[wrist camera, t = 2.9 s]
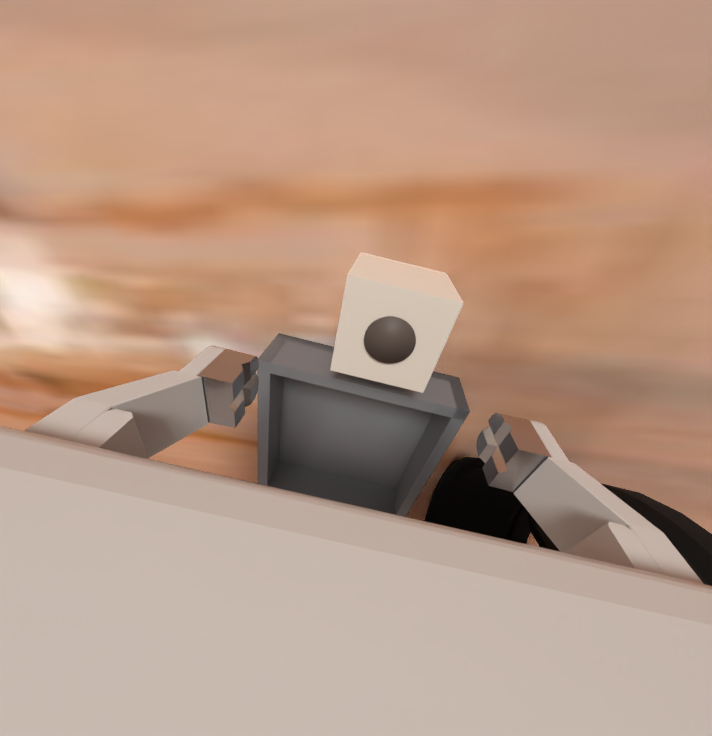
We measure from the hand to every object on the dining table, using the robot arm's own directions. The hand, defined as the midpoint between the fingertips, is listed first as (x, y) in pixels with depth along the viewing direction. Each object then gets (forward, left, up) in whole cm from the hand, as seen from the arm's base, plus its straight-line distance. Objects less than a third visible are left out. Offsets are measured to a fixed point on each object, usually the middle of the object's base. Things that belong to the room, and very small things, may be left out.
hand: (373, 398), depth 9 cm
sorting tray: (0, +11, -9) cm, 14 cm away
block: (0, 0, -9) cm, 9 cm away
